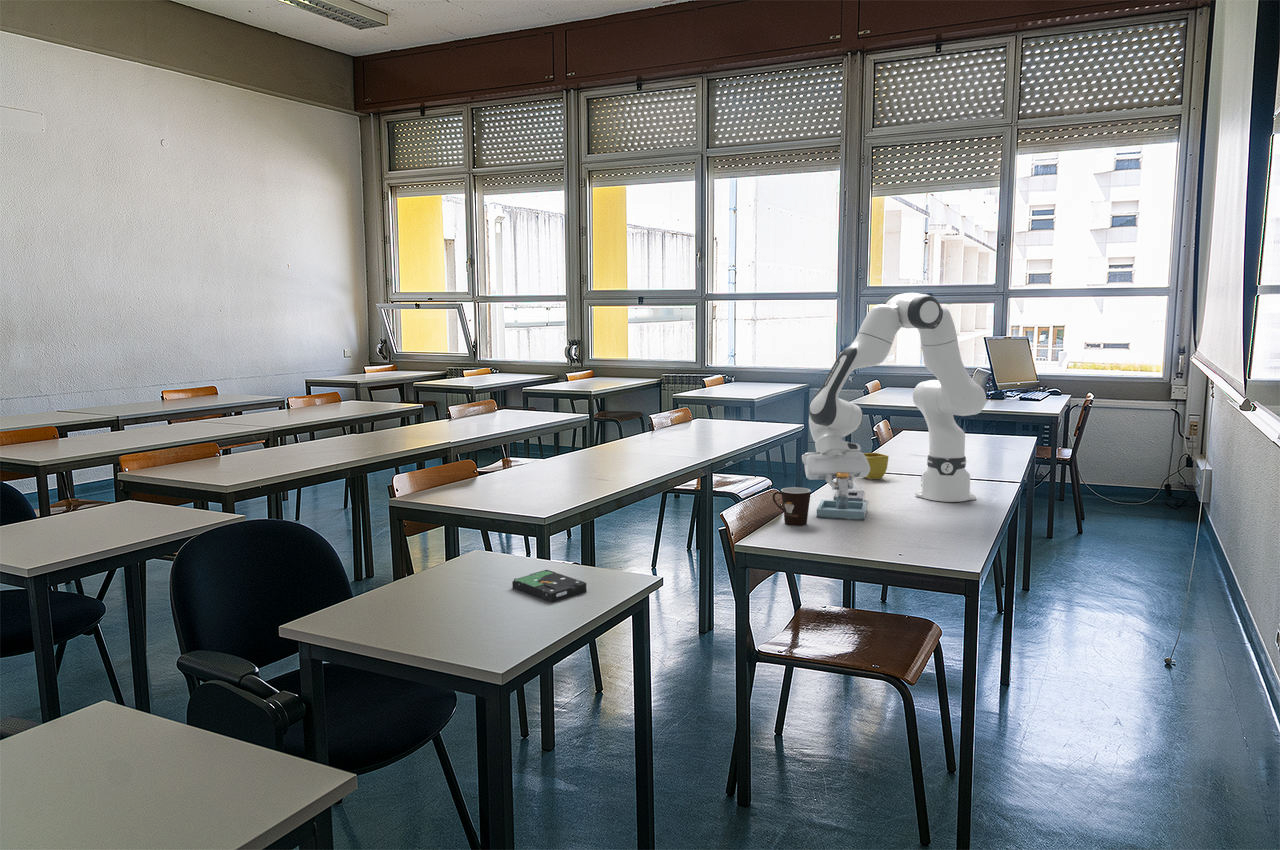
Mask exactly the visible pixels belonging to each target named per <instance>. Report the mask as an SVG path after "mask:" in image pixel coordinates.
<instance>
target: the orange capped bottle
mask: <svg viewBox="0 0 1280 850" xmlns="http://www.w3.org/2000/svg"><path fill="white" fill-rule="evenodd" d="M836 477H837V479H836V481H835V482H837V483H838V484H837V485H838V489H837V490H835V493H836V508H837V509H843V510H844V509H848V490H849V489H848V483H849V482H850V480H849V473H848V472H836Z"/></svg>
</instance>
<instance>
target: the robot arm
mask: <svg viewBox="0 0 1280 850" xmlns="http://www.w3.org/2000/svg"><path fill="white" fill-rule="evenodd" d="M867 312H868V313H867V314H866V316H865V317H864V319H863V321H862V323H861V326H860V327H859V330H858V332H857V335H856V337H855V339H854V340H853V341H852V343H851V344H850V345H849V346H846V347H845V348H844V349H843V350H842V351H841V352H840V353H839V355H838V356H837V357H836V360H835V362H834V364H833V365H832V367H831V368H830V371H829V373H828V374H827V376H826V378H825V380H824V381H823V382H822V384H821V386H820V388H819V390H818V391H817V392H816V394H815V395H814V396H813V398H812V399H811V401H810V403H809V407H808V413H809V416H808V426H809V432H810V433H811V434H810V435H811V437H812V438H811V439H812V440H813V441H814V443H815V452H805V453H804V454H802V455H801V461H802V463H803V465H804V473H805V477H806V479H808V480H811V481H813V480H825V482H826V483H827V484H829V485H830V486H831V490H832V491H833V490H835V491H836V490H837V489H838V485H837V484H838V483H837V482H836V481H834V479H836V480H837V477H836V472H848V473H849V483H848V490H853V488H854V479H855V478H858V479H859V478H863V477H867V475H868V474H869V472H870V466H869V463H868V461H867V459H866V457H865V455H864V454H865V453H863V452H862V451H861V450H862V447H861V445H860V444H858V443H853V442H850V441H846V440H843V438H846V437H847V436H849V435H850V434H852V433H855V432H856V431H857V430H858V429H859V428H861V427H860V426H861V425H862V424H863V419H864V416H863V410H862V409H861V407H860V405H857V404H855V403H853V402H850V401H848V400H845V399H842V398H839V394H840V393H841V390H842V388H843V386H844V385H845V383H846V381H847V380H848V378H849V376H850V374H851V373H852V372H853V371H855V370H857V369H860V368H871V367H875V366H878V365H880V364H882V363H883V362H884V361H885V360H886V359H887V357H888V356H889V353H890V351H891V348H892V346H893V342H894V340H895V338H896V334H897V333H898V332H899V330H900V329H901V328H904V329H916V330H917V331H918V332H919V337H920V345H921V351H922V357H923V362H924V366H925V368H926V369H927V370H928V371H929V372H930V373H932V374H933V375H934V376H935V377H936V379H930V380H929V379H928V380H925V381H924V380H923V381H921V382H919V383H918V384H917V385H916V386H915V387H914V389H913V392H912V401H913V403H914V405H915V407H916V408H917V409H919V411H920V412H921V414H922V415H923V417H924V421H925V422H926V426H927V428H928V429H927V430H928V449H929V451H928V455H927V458H926V459H927V460H926V462H927V464H926V466H927V468H925V470H924V471H923V472H922V474H921V477H920V478H921V480H920V481H921V482H922V483H921V484H920V487H921V488H920V489H919V490H918V491H917V492H916V493H915V497H917V498H923V499H926V500H929V501H935V502H944V503H945V502H946V503H955V502H957V503H958V502H966V501H971V500H972V501H973V500H976V499H977V496H976V495H975V494H974V493H973V492H971V474H970V473H969V472H968V471H967V469H966V466H967V457H966V455H965V454H966V453H965V452H966V433H965V431H964V430H963V429H962V428H961V427H960V426H959V425H958V424H957V422H956V420H955V417H954V416H958V417H959V416H961V417H966V416H967V417H968V416H972V415H973V416H974V415H978V414H980V413H981V412H982V411H983V409H984V408H985V406H986V403H987V395H986V391H985V390H984V388H983V387H982V386H981V385H979V384H978V383H977V382H975V381H974V379H973V378H972V376H970V374H969V372H968V371H967V369H966V367H965V365H964V363H963V360H962V357H961V352H960V347H959V342H958V341H959V340H958V336H957V335H958V334H957V330H956V326H955V322H954V320H953V317H952V315H951V312H950V310H949V309H948V308H946V307H944V306H941V303H940V302H939V301H938V300H937V299H936V297H934V296H932V295H930V294H928V293H927V294H926V293H918V292H905V293H903V292H900V293H899V292H898V293H894V294H892V295H889V296H888V297H887V298H886V299H885V300H884V301H883V303H881V304H875V305H873V306H872V307H870V309H869V311H867Z"/></svg>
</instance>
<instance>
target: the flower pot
mask: <svg viewBox="0 0 1280 850" xmlns="http://www.w3.org/2000/svg"><path fill="white" fill-rule="evenodd" d="M863 454H864V455H865V457H866V459H867V461H868V463H869V466H870V472H869V474H868V475H867V477H865V478H864V479H867V480H870V479H872V480H880V479H883V477H884V475H885V474H886V472H887V469H888V463H889V455H886V454H884V453H879V452H869V453H868V452H867V453H866V452H865V453H863Z"/></svg>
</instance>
